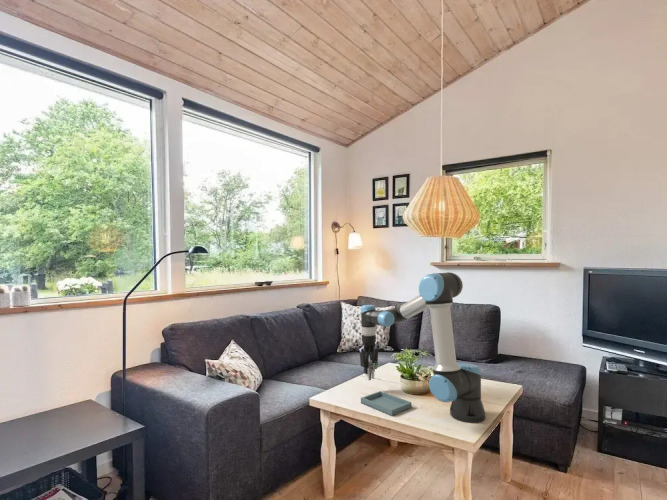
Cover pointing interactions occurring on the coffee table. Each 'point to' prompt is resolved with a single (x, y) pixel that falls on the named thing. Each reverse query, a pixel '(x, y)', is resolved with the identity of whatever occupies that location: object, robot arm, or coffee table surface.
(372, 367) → the mechanical component
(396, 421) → the coffee table surface
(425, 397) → the coffee table surface
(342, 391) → the coffee table surface
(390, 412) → the parts tray
